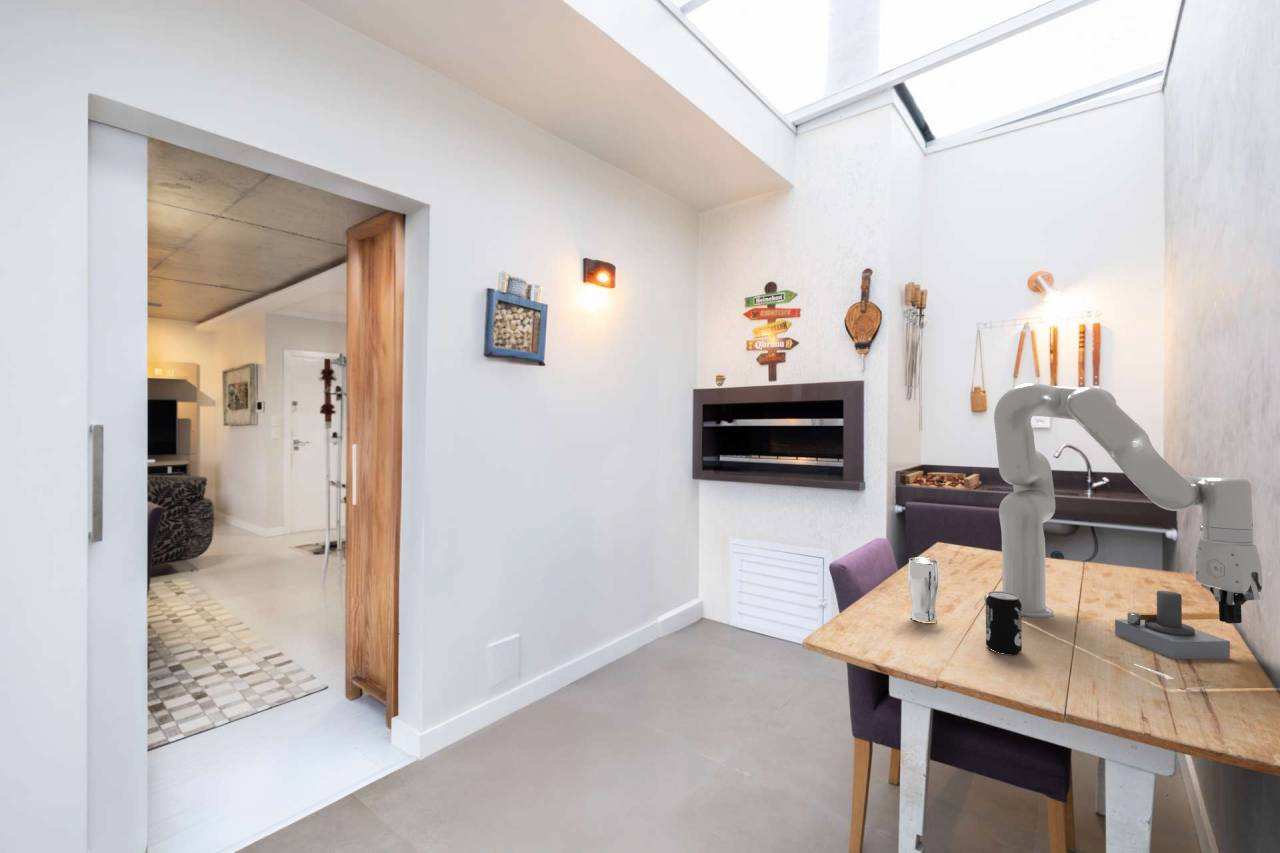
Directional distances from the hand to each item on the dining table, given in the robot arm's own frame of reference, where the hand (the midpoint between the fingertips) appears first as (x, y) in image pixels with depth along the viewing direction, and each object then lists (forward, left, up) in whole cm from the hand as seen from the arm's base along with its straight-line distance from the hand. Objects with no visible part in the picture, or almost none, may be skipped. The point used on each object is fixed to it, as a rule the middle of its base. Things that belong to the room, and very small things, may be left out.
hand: (1230, 621), depth 121 cm
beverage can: (-46, +4, -7) cm, 47 cm away
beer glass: (-53, +24, -7) cm, 59 cm away
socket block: (-9, +4, -7) cm, 12 cm away
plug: (-9, +4, -7) cm, 12 cm away
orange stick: (-5, +7, -3) cm, 10 cm away
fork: (-25, -8, -8) cm, 28 cm away
